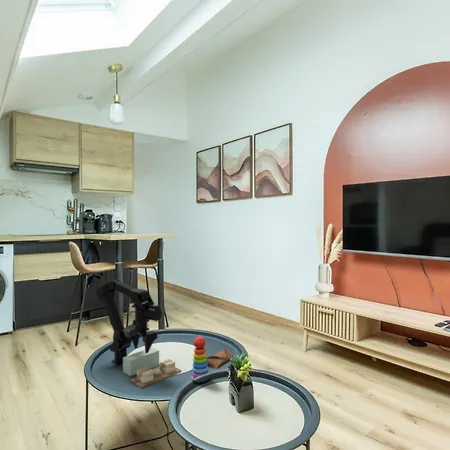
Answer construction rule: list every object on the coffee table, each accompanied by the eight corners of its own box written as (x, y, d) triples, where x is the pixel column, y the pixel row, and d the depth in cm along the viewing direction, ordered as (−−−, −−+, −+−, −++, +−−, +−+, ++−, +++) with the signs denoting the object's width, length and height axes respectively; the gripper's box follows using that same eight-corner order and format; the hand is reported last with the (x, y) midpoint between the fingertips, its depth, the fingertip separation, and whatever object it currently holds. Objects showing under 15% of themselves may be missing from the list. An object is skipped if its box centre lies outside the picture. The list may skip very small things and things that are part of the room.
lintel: (123, 372, 152) (122, 357, 152) (151, 361, 164) (151, 347, 164) (130, 376, 148) (130, 361, 148) (159, 364, 160) (159, 350, 160)
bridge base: (130, 381, 143) (130, 370, 143) (169, 365, 158) (169, 356, 158) (141, 388, 137) (141, 377, 137) (181, 371, 152) (181, 361, 152)
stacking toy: (210, 376, 148) (210, 334, 148) (208, 384, 140) (208, 340, 140) (193, 375, 148) (193, 333, 148) (189, 383, 141) (189, 340, 140)
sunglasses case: (216, 369, 154) (211, 355, 156) (206, 374, 157) (201, 360, 159) (237, 356, 169) (232, 344, 171) (227, 361, 172) (222, 348, 174)
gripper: (115, 317, 156) (115, 350, 156) (137, 325, 143) (137, 361, 144) (136, 312, 164) (136, 343, 164) (158, 320, 152) (158, 354, 152)
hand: (141, 350), depth 156 cm, fingers open, 9 cm apart
